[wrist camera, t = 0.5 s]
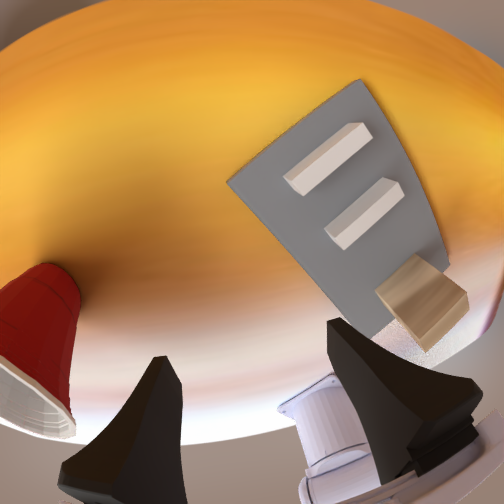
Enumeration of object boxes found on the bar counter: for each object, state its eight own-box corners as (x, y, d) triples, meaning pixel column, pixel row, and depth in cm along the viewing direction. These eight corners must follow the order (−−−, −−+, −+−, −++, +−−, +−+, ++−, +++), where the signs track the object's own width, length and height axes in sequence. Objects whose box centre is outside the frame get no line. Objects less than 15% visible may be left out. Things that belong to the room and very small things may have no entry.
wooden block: (421, 270, 22) (469, 309, 16) (383, 304, 23) (425, 353, 17) (414, 253, 21) (466, 292, 15) (374, 290, 22) (419, 339, 16)
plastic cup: (38, 339, 21) (1, 432, 10) (-5, 245, 16) (-82, 329, 5) (125, 337, 22) (105, 457, 12) (86, 226, 17) (0, 339, 7)
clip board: (444, 260, 24) (462, 273, 21) (361, 336, 25) (374, 355, 23) (353, 80, 16) (375, 74, 13) (226, 181, 18) (228, 189, 15)
